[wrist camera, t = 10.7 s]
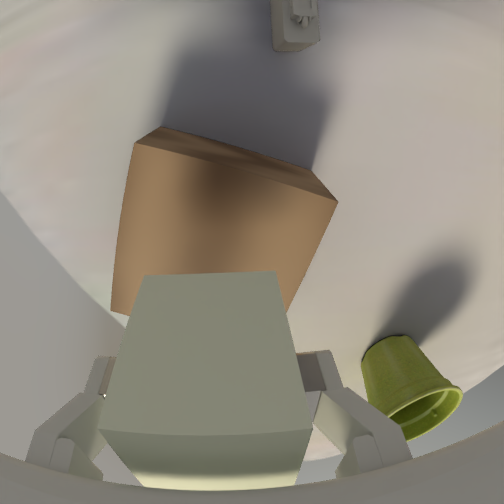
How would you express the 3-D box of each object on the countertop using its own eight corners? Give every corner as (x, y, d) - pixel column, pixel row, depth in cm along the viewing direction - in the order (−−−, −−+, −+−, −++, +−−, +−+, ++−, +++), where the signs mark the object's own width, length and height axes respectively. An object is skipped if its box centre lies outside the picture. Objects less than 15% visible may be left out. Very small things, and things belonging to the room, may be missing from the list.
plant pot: (436, 347, 31) (469, 405, 23) (368, 392, 33) (390, 453, 26) (409, 304, 27) (452, 373, 19) (328, 360, 29) (351, 435, 22)
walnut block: (310, 169, 20) (338, 201, 15) (260, 290, 25) (268, 346, 20) (161, 126, 18) (134, 142, 13) (133, 259, 23) (110, 310, 18)
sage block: (275, 270, 11) (313, 427, 6) (271, 359, 13) (292, 491, 8) (144, 275, 11) (97, 428, 5) (165, 363, 13) (149, 492, 8)
